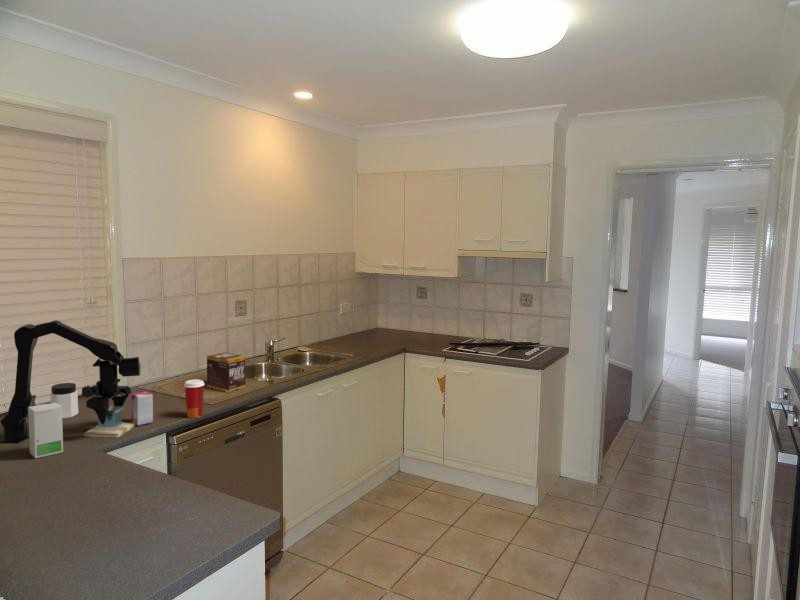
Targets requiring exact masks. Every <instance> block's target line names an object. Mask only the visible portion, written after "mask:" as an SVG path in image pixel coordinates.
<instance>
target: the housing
mask: <svg viewBox="0 0 800 600" xmlns="http://www.w3.org/2000/svg"><path fill="white" fill-rule="evenodd" d="M123 410H125V408H124V405H123V406H114V405H109V410H108V413H107V417H106V421H105V423H104V424H101V422H100V420H99V418H97V421H98V424H97V425H96V426H95V427H96V430H118V429H120V428H121V427H123V426H124V421H122V411H123ZM94 413H95V414H96V412H95V411H94Z"/></svg>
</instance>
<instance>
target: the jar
mask: <svg viewBox="0 0 800 600" xmlns="http://www.w3.org/2000/svg"><path fill="white" fill-rule="evenodd" d="M78 398H79V397H78V390H77V384H76V383H74V382H62V383H57V384H53V385H51V390H50V404H51V403H57V404H59V405H61V406H62V419H67V418H73V417H74V416H76V415H78V414H79V400H78Z"/></svg>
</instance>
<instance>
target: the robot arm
mask: <svg viewBox="0 0 800 600" xmlns="http://www.w3.org/2000/svg"><path fill="white" fill-rule="evenodd" d="M50 334H54V335H57V336H58V337H61V338H63V339H65V340H67V341H70V342H72V343H74V344H76V345H78V346H80V347H83V348H85V349H87V350H88V351H89V352H91V353H92V354H93V355H94V356H96V357H97V359H96V361H95V362H93V364H92V367H98V369H99V370H98V371H99V373H98V374H99V380H98V381H96V384H95V385H92V386H89V385H87V386H83V387H82V388H81V395H82V396H83V397H85V398H86V399H87V398H88V399H87V400H86V401H85V408H88V409H89V410H90V409H91V410H92V411H94V413H95V412H96V413H95V414H96V415H97V417H98V418H99V420H100V422H101V424H104V423H105V421H106V417H107V413H108V410H109V406H110V405H109V404H110V400H112V402H113V406H124V405H125V403H126V402H127V400H128V398H129V396H130V394H132V389H131V388H132V387H130V386H128V385H119V382H121V378H118V377H119V375H120V376H122V377H139V376H141V363H140V357H139V356H134V357H124V356H123V354H122V353H120V351H119V349H118V345H117V343H114V342H113V341H109V340H105V339H101V338H96V337H93V336H92V335H88V334H87V333H84V332H82V331H79V330H78V329H75V328H73V327H71V326H69V325H67V324H66V323H64V322H63V323H62V322H61V321H60V320H58V319H57V320H52V321H48V322H43V323H39V324H36V325H34V324H31V323H29V324H27V323H26V324H25V325H22V326H21V327H19V328H17V329H16V330H14V333H13V338H14V346H15V347H16V350H17V361H16V373H15V374H16V375H15V383H14V385H15V386H14V387H15V388H14V393H13V396H12V399H11V400H10V404H9V407H8V411H7V415H5V416H4V417H3V418H2V419H1V420H0V424H1V425H2V427H3V434H4V436H3V437H4V438H2V439H1V440H0V443H14V444H15V443H16V444H17V443H21V442H22V441H25V440H27V439H29V434H28V425H27V416H29V413H28V407H30V406H37V405H36V397H37V395H35V394H33V395H32V392H31V382H32V370H33V369H32V367H33V357H34V350H35V348H36V345H37V342H38V339H39V338H41V337H45V336H47V335H50ZM118 374H119V375H118ZM94 395H95V396H94ZM92 396H93V397H92ZM90 397H91V398H90ZM98 418H97V419H98Z"/></svg>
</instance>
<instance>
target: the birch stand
mask: <svg viewBox="0 0 800 600" xmlns="http://www.w3.org/2000/svg"><path fill="white" fill-rule="evenodd" d="M123 422H124V421H123ZM135 427H136V423H132V422H124V426H123V427H121V428H120V429H118V430H96V426H94V427H92V428H91V429H89V430H87V431H85V432H84V434H83V437H92V438H93V437H94V438H95V437H96V438H101V437H102V438H119V437H121V436H122V435H124V434H125V433H127V432H129V431H130V430H131V428H132V429H133V428H135Z"/></svg>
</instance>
